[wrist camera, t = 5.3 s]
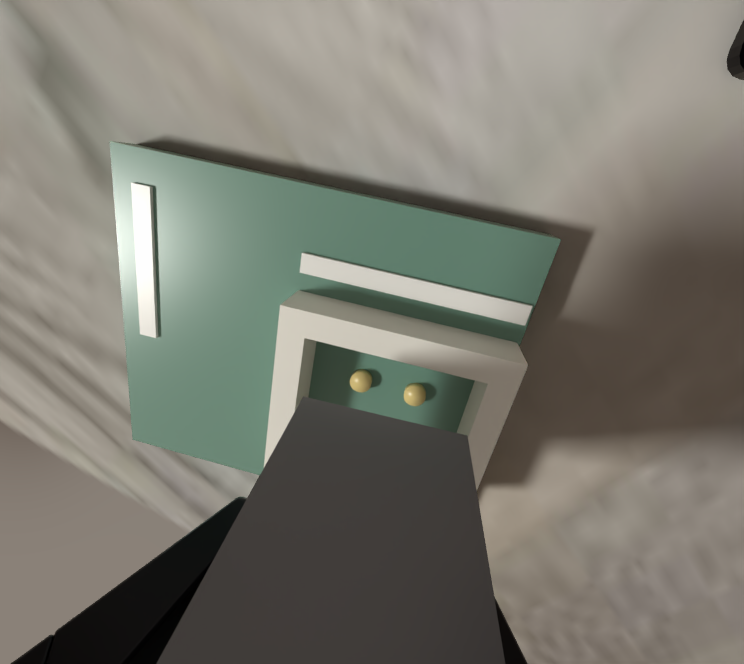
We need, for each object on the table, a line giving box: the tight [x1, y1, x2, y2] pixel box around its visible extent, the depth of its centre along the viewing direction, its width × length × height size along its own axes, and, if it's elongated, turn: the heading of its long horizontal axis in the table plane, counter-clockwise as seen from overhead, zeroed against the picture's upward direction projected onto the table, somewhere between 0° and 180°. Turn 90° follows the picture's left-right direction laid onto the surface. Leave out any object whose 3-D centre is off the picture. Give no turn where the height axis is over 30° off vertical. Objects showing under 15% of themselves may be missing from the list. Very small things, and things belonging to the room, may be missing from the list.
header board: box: [110, 141, 561, 490], centre depth 12 cm, size 13×11×2 cm
